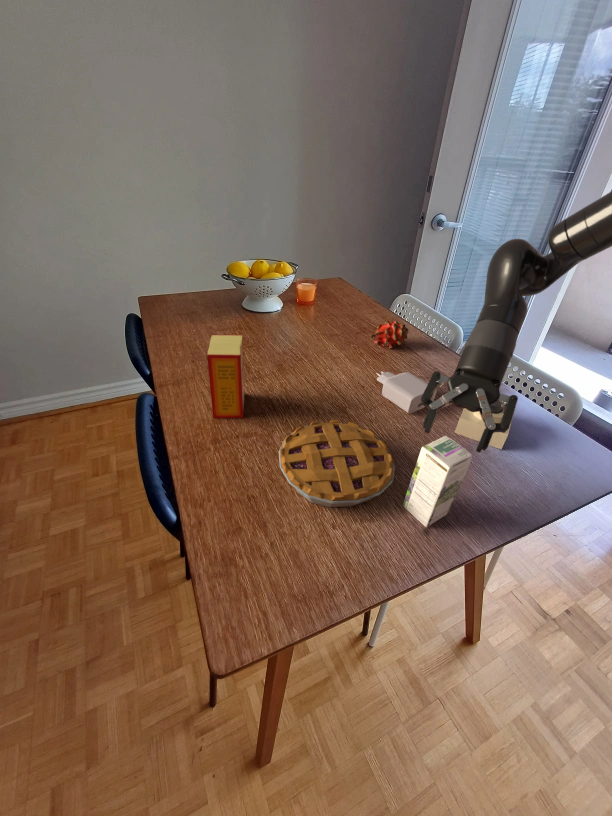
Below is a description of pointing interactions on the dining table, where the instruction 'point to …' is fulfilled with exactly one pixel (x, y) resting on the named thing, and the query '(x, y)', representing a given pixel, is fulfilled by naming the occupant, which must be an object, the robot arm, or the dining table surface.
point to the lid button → (496, 407)
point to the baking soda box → (226, 375)
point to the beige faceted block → (480, 427)
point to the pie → (336, 463)
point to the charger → (404, 390)
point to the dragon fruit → (390, 334)
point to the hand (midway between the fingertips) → (451, 441)
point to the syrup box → (436, 480)
